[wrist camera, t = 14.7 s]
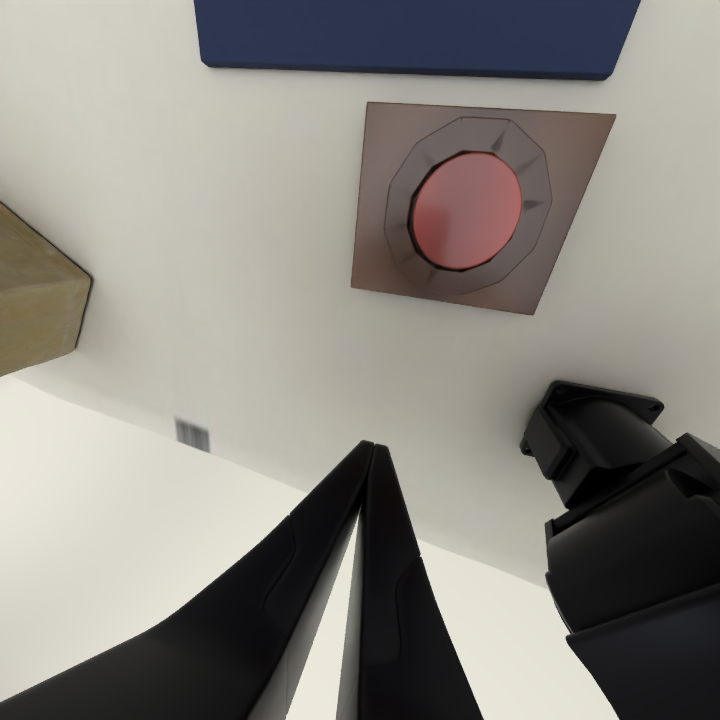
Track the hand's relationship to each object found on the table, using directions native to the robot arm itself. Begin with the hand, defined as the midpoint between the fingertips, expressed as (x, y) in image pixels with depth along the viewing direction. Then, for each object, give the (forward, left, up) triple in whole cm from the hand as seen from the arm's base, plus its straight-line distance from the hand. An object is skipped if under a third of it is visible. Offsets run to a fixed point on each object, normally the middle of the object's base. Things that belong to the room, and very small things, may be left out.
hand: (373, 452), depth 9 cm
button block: (-2, -7, -12) cm, 14 cm away
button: (-2, -7, -9) cm, 12 cm away
